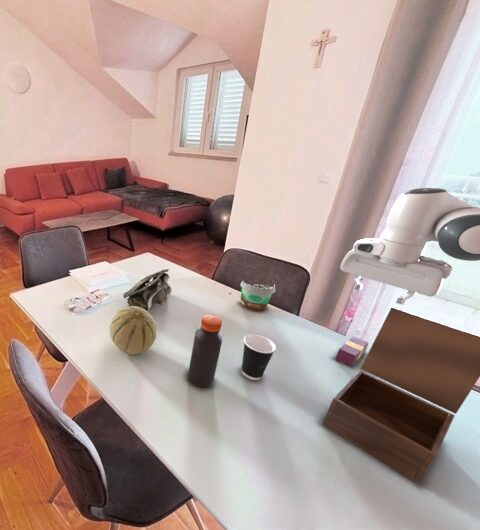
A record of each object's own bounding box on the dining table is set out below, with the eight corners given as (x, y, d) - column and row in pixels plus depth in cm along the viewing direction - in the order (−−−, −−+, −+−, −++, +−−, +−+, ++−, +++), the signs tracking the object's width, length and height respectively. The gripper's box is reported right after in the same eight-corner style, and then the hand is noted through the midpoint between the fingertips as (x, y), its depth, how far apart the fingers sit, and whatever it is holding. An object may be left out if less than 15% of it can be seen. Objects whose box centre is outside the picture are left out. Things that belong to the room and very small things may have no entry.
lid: (501, 343, 62) (501, 339, 65) (391, 307, 75) (395, 305, 78) (455, 414, 67) (458, 407, 70) (360, 368, 80) (365, 364, 83)
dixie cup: (236, 361, 95) (244, 331, 91) (266, 369, 92) (275, 339, 87) (235, 378, 89) (243, 347, 84) (267, 388, 85) (277, 355, 81)
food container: (238, 309, 122) (243, 287, 118) (236, 302, 128) (241, 280, 123) (273, 314, 119) (280, 291, 115) (269, 306, 124) (276, 284, 120)
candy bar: (364, 353, 99) (369, 342, 97) (351, 366, 93) (355, 355, 91) (348, 346, 102) (353, 335, 100) (334, 359, 96) (339, 348, 94)
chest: (417, 484, 62) (436, 456, 59) (321, 424, 75) (333, 398, 72) (437, 441, 71) (455, 415, 68) (348, 394, 83) (359, 369, 80)
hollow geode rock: (130, 328, 119) (157, 314, 108) (111, 300, 121) (136, 284, 110) (165, 298, 138) (191, 284, 127) (148, 274, 140) (172, 258, 129)
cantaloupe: (121, 329, 110) (123, 292, 104) (161, 344, 103) (166, 305, 97) (99, 352, 99) (101, 312, 93) (142, 371, 91) (147, 328, 85)
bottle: (182, 374, 90) (192, 316, 82) (200, 368, 93) (211, 310, 85) (199, 391, 84) (212, 329, 76) (218, 383, 87) (232, 323, 79)
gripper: (458, 260, 76) (432, 309, 82) (355, 237, 92) (339, 280, 97) (453, 266, 73) (426, 316, 78) (347, 241, 88) (331, 285, 94)
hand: (377, 296), depth 88 cm, fingers open, 8 cm apart
